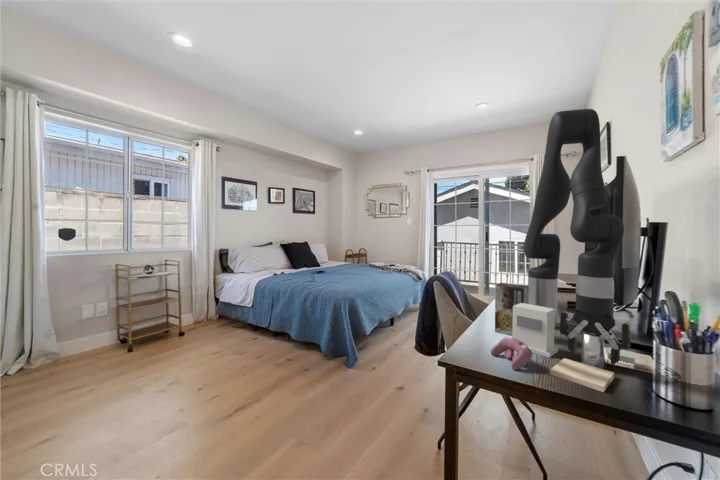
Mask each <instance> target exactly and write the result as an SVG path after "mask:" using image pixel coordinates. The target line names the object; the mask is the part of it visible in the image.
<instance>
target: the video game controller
mask: <svg viewBox="0 0 720 480" xmlns="http://www.w3.org/2000/svg"><path fill="white" fill-rule="evenodd" d="M515 352H516V353H515ZM503 353H504V357H505V358H506V359H509V360H512V362H511V368H512V369H513V370H514V371H516V370H517V371H518V370H520V369H522V368H523V367H524V366H526V364H528V362H529V361H531V359H532V358H533V353H532V351H531V350H530V349H529V348H528V347H527V345H526V344H524V343H523V342H522V341H520V340H517V339H515V338H512V337H508V336H505V337H504V338H502V339H501V340H500V341H498V343H497V344H496V345H494V346H493V347H492V348H491V350H490V355H491V356H495V357H496V356H497V357H498V356H499V355H501V354H503Z"/></svg>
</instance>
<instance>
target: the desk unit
mask: <svg viewBox="0 0 720 480" xmlns="http://www.w3.org/2000/svg"><path fill="white" fill-rule="evenodd" d="M555 328H556V327H555V309H553V308H547V307H542V306H536V305H531V304H525V303H520V304H517V305H514V306H513V328H512V335H511V336H512V337H511V338H515V339H517V340H520V341H522V342H523V343H524V344H526V345H527V347H528V348H529V349H530V350H531V351H532V354H536V355H539V356H543V357H545V358H549V359H550V358H551V357H552V356H554V355H555V354H557V353H558V352H559V351H560V350H559V347H558V346H555Z"/></svg>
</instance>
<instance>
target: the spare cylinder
mask: <svg viewBox="0 0 720 480" xmlns="http://www.w3.org/2000/svg"><path fill="white" fill-rule="evenodd" d="M581 332H582V336H581V363H583V364H586V365H590V366H593V367H597V368H600V369H604V367H605V366H604V365H605V364H604V362H605V361H604V360H605V338H604V337H603V335H600V336H598V335H595V334H593V333H585V332H584V331H581Z"/></svg>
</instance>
